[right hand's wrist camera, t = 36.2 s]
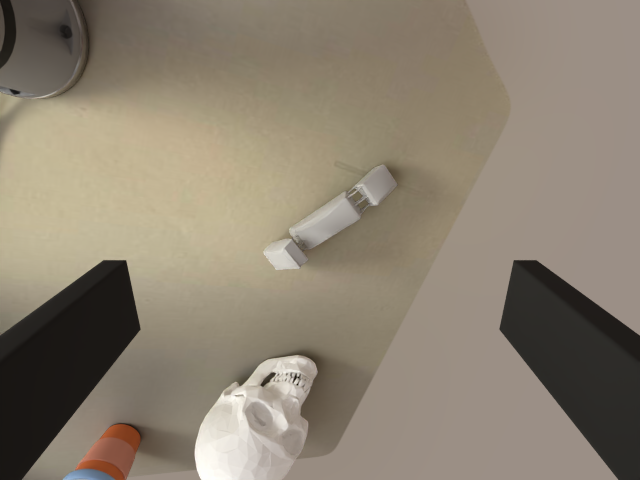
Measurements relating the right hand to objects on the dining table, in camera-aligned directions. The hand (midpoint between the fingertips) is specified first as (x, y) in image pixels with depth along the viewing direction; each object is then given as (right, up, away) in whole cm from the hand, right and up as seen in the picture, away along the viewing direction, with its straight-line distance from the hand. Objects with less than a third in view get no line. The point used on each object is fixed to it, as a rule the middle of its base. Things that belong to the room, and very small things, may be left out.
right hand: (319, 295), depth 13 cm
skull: (-9, -23, +49) cm, 55 cm away
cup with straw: (-35, -33, +52) cm, 71 cm away
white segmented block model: (+1, +5, +38) cm, 38 cm away
